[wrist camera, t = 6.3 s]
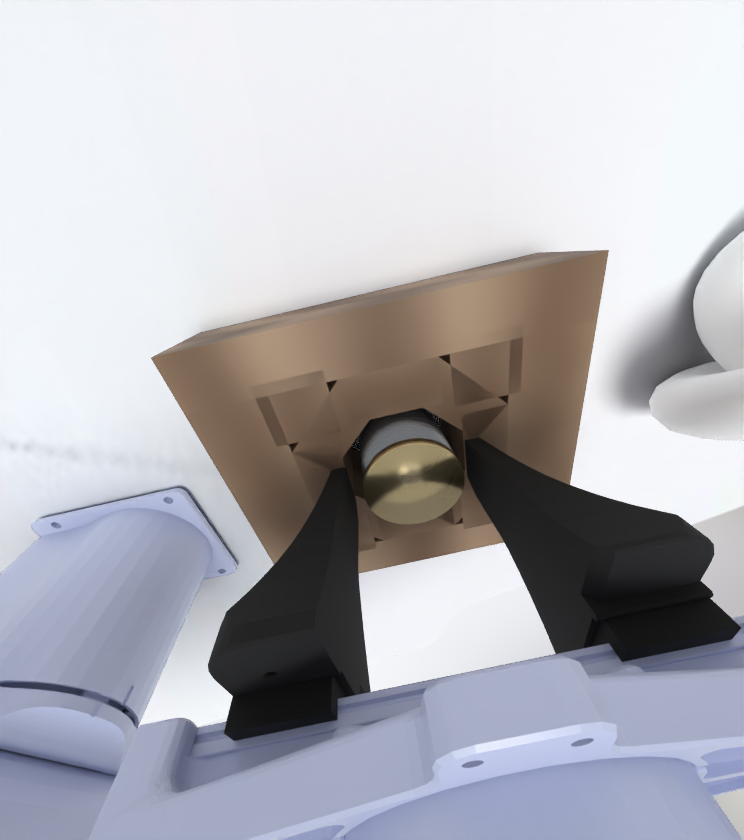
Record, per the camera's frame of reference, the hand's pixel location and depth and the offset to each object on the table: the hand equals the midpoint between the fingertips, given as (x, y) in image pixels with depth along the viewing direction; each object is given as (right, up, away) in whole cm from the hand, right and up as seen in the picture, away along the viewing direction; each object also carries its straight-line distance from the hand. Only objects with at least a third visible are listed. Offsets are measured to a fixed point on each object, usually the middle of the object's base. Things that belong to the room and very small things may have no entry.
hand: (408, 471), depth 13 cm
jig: (0, +2, +4) cm, 4 cm away
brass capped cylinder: (0, +2, +4) cm, 5 cm away
